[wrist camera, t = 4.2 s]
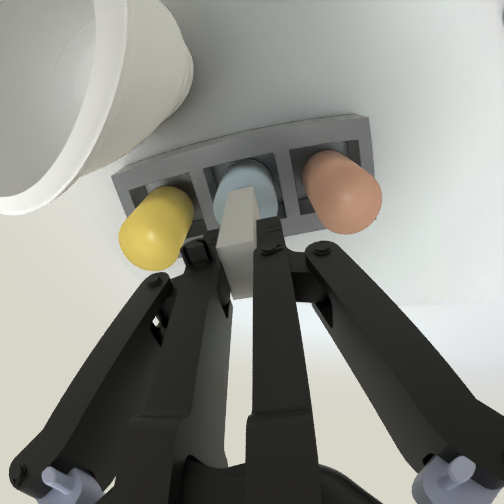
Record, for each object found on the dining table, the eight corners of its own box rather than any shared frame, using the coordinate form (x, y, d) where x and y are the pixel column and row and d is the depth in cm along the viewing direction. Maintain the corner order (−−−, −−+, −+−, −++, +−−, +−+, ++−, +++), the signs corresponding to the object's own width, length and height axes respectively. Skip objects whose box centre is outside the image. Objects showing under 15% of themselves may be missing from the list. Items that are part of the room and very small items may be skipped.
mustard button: (136, 193, 20) (109, 222, 16) (185, 179, 20) (166, 206, 15) (154, 238, 22) (134, 275, 18) (201, 228, 22) (188, 265, 17)
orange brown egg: (296, 154, 19) (310, 174, 14) (351, 146, 18) (380, 163, 14) (305, 206, 21) (319, 239, 16) (356, 197, 20) (382, 228, 16)
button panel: (126, 165, 22) (111, 176, 19) (354, 113, 19) (368, 117, 17) (157, 245, 26) (147, 263, 23) (363, 204, 23) (376, 219, 21)
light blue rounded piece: (215, 165, 21) (205, 185, 17) (266, 154, 21) (270, 171, 16) (228, 211, 23) (222, 242, 19) (276, 201, 23) (282, 230, 18)
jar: (162, -4, 14) (56, -85, 1) (235, 85, 18) (201, 66, 6) (68, 80, 17) (-74, 109, 4) (130, 164, 22) (12, 264, 9)
